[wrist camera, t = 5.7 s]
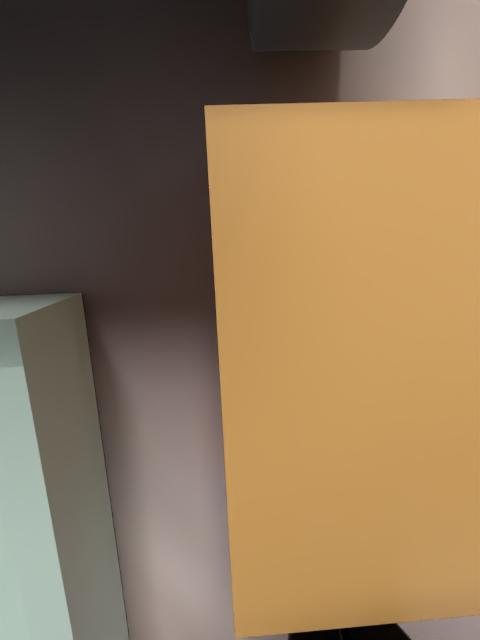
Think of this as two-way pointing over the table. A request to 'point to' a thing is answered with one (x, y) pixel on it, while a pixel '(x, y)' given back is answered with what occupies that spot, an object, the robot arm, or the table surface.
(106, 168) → the table surface
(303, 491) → the orange rectangular block
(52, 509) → the tray
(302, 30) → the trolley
